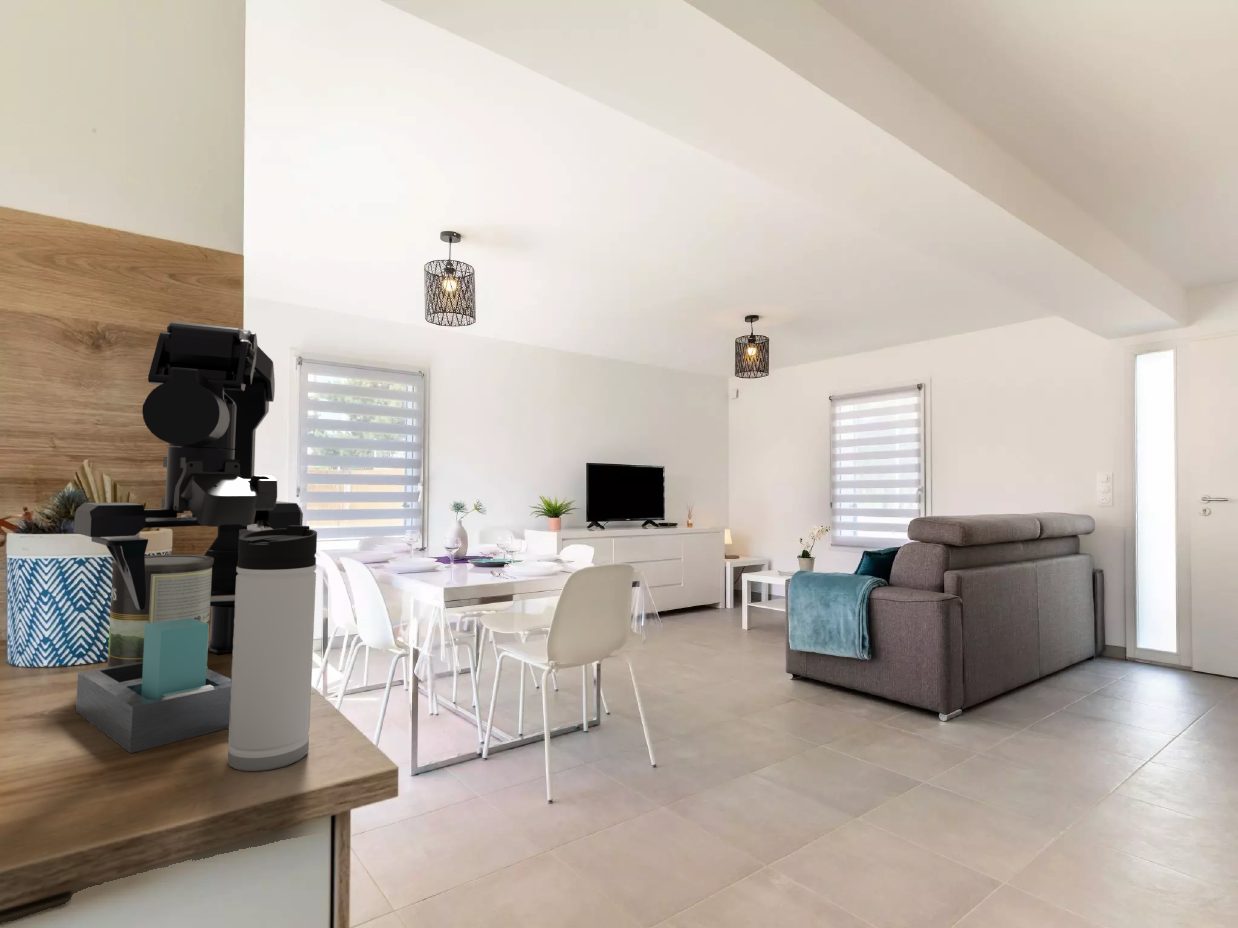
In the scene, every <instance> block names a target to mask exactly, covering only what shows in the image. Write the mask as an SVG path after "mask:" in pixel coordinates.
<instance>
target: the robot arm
mask: <svg viewBox="0 0 1238 928" xmlns="http://www.w3.org/2000/svg"><path fill="white" fill-rule="evenodd" d="M258 345H259V344H258V338H257V333H256V332H252V331H251V330H249V329H248V330H247V329H241V328H240V327H239V328H238V327H229V326H220V325H219V326H218V325H210V324H200V323H191V322H182V321H181V322H180V321H172V322H170V323H169V324H168V325H167V327H166V331H160V334H159V335H158V339H157V342H156V345H155V350H154V354H153V357H152V361H151V363H150V364H151V365H150V368H149V371H148V377H147V381H148V383H150V384H152V385H154V386H156V387H155V388H153V389H152V390H151V391H150V392H149V393H148V395H147V397H146V399H145V401H144V402H143V404H142V411H141V412H142V419H143V422H144V423H145V425H146V428H147V429H148V430H149V431H150V433H151V434H153V435H154V436H155V437H156V438H158V439H159V440H161V441H163V442H165V443H167V456H164V457H163V460H162V461H163V462H162V463H163V465H162V467H163V468H166V475H165V477H166V480H165V481H166V482H165V497H161V503H160V504H161V506H160V507H161V508H152V509H151V508H150V509H149V508H146V509H145V507H144V504H140V503H131V502H83V503H82V504H81V505H80V506H78V507H77V509H76V511H75V514H74V523H73V526H74V527H73V533H74V534H79V535H82V536H85V537H89V538H91V542H93V543H97V544H101V545H104V546H105V547H106V549H107V550H108V551H109V553H110V555H111V557H112V558H113V559H114V560H115V561H116V563H117V565H118V567H119V569H120V571H121V573H122V575H123V578H124V580H125V582H126V585H127V587H128V590H129V592H130V594H131V597H132V599H133V601H134V604H135V606H136V608H137V609H138V610H144V609H145V603H146V574H145V556H146V551H147V547H148V544H149V539H148V538H144V537H141V531H143V529H149V528H181V527H202V526H203V527H209V528H210V527H212V528H215V527H217V536H216V538H215V539H214V541H213V542H212V543H211V545H210V547H209V548H208V549H207V550H206V552H205V553H204V554H203V556H210V557H213V558H214V563H213V565H212V579H211V598H210V624H209V640H208V651H210V652H212V653H215V654H225V653H231V652H232V653H233V633H234V612H235V590H236V576H237V575H238V573H237V571H236V569H237V563H238V559H239V555H238V542H239V537H240V536H242V535H244V534H247V533H251V532H256V531H262V530H270V529H285V528H287V526H291V525H294V526H303V520H304V519H303V518H304V514H303V510H302V509H301V506H299V504H298V503H297V502H289V501H282V500H281V501H278V479H276V478H275V477H274V476H273V475H271V474H270V475H266V474H263V475H261V474H260V475H259V474H255V465H256V464H255V462H256V460H255V459H256V431H257V428H258V427H259V426H260V424H261V423H262V422H263V420H264V419H265V417H266V416H268V415H267V414H268V413H269V411H270V402H274V399H275V389H276V388H275V385H276V382H275V381H276V380H275V368H274V367H275V366H274V361H273V360H272V359H271V358H270V357H269V356H268V354H266V353H265V351H263V350H262V349H261V348H260V347H259V346H258ZM184 512H190V513H191V514H184ZM178 514H181V516H178ZM114 560H113V561H114Z"/></svg>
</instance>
